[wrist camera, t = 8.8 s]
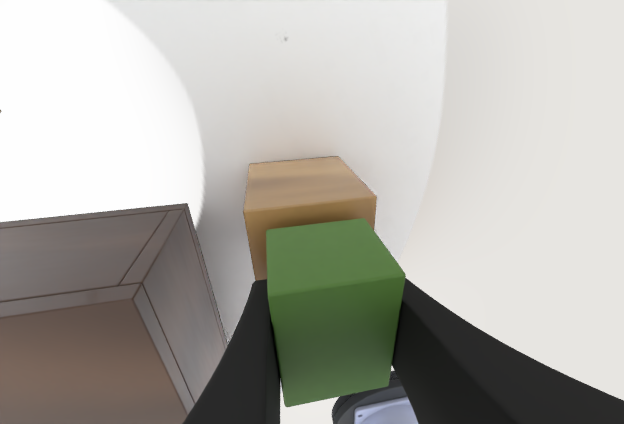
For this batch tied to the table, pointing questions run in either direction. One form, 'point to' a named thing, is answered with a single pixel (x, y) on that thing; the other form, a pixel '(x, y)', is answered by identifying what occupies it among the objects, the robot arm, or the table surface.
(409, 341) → the robot arm
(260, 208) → the wooden block
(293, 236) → the matte green cuboid
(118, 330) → the cabinet
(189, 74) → the table surface
